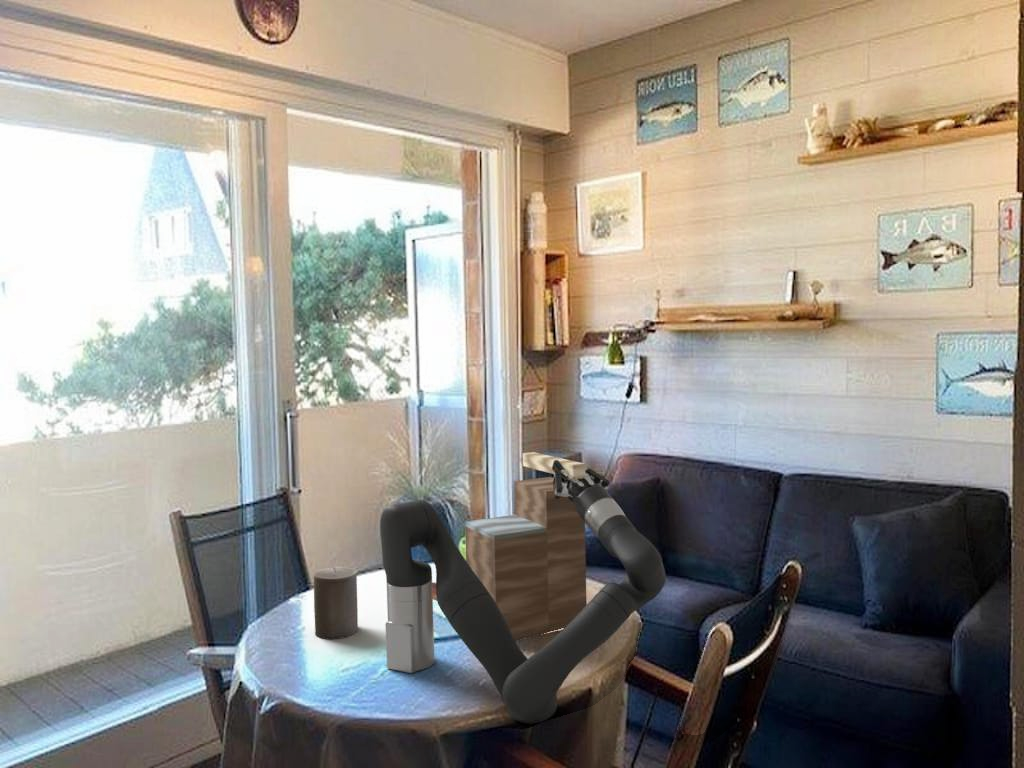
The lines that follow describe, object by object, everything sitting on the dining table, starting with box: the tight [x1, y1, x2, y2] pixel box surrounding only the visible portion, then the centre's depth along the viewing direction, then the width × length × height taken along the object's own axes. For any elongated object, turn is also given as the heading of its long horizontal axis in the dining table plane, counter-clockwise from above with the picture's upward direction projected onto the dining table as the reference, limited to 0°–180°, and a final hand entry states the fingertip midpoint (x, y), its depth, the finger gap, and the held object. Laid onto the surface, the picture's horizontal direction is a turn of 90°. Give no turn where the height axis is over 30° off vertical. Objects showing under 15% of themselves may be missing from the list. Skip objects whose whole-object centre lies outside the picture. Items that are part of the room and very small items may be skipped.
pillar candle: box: [313, 566, 359, 640], centre depth 184 cm, size 10×10×15 cm
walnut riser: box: [464, 476, 588, 642], centre depth 185 cm, size 15×23×32 cm, turn 118°
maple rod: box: [522, 451, 586, 479], centre depth 181 cm, size 22×3×3 cm, turn 28°
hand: (561, 462), depth 178 cm, fingers closed on maple rod, 3 cm apart
